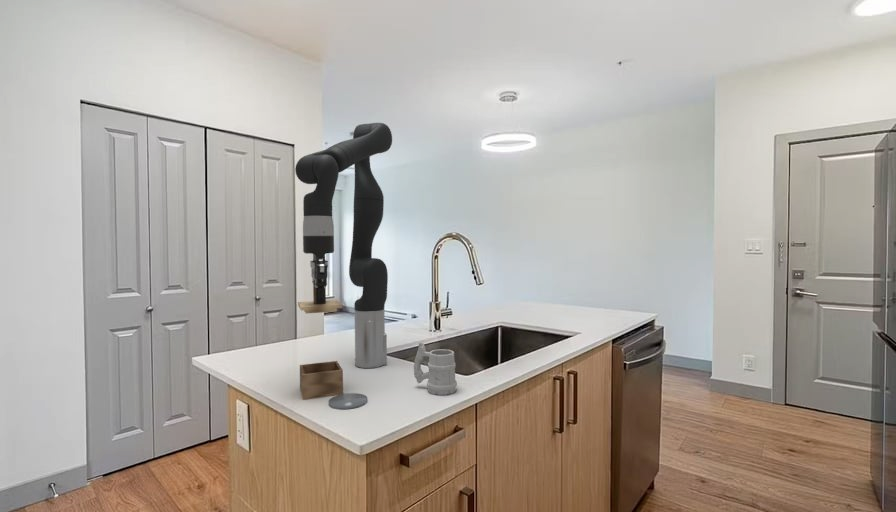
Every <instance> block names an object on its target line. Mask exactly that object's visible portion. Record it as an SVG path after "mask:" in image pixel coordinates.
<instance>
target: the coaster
mask: <svg viewBox="0 0 896 512" xmlns="http://www.w3.org/2000/svg"><path fill="white" fill-rule="evenodd" d="M367 403H368V396H367V395H365V394H363V393H358V392H357V393H356V392H349V393H348V392H347V393H343V394H340V395H333V397H331V398H330V399H328V407H330V408H332V409H335V410H352V409H357V408H358V409H359V408H360V407H363V406H365V405H366V404H367Z"/></svg>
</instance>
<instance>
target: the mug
mask: <svg viewBox="0 0 896 512" xmlns="http://www.w3.org/2000/svg"><path fill="white" fill-rule="evenodd" d="M425 357H428V363H427V368H428V371H427V372H424V371H423V370H422V368H421V367H422V366H421V364H422V361H423V360H424V358H425ZM456 364H457V363H456V362H455V351H454V350H451V349H444V348H443V349H442V348H441V349H439V348H438V349H433V350H430V351H426V346H425V344H424V342H422V341H419V342H418V349H417V352H416V355H415V358H414V363H413V375H414V379H416V382H417V384H421V383H422V382H423V381H424V380H426V379H427V381H426V387H427V389H428V393H430V394H432V395H434V396H435V395H438V396H446V395H447V394H448V395H451V394H453V393H456V390H457V386H458V382H457V380H456V366H457V365H456Z"/></svg>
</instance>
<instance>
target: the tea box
mask: <svg viewBox="0 0 896 512" xmlns="http://www.w3.org/2000/svg"><path fill="white" fill-rule="evenodd" d="M343 372H344V371H343V368H342V367H341V365H340V363H339V362H338V360H333V361H324V362H323V361H322V362H314V363H306V364H304V363H303V364H299V388H300V392H301V393H300V394H301V398H302V400H303V401H304V400H310V399H316V398H317V399H318V398H325V397H331V396H333V397H334V396H337V395H341V394H344V373H343Z"/></svg>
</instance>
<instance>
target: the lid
mask: <svg viewBox="0 0 896 512" xmlns="http://www.w3.org/2000/svg"><path fill="white" fill-rule="evenodd" d="M312 288H313V289H312V290H313V291H312V293H313V296H312V297H313V301H299V302H297V303H298V304H297V307H299V309H300V311H304V312H305V314H307V315H308V314H320V313H333V312H338V309H343V304H342V303H341V302H340V301H339V300H338V299H331V300H330V299H329V300H327V298H326V297H327V295H326V294H327V293H326V292H327V291H326V290H327V287H326V288H325V303H319V304H318V303H316V288H315V286H313V285H312Z"/></svg>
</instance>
